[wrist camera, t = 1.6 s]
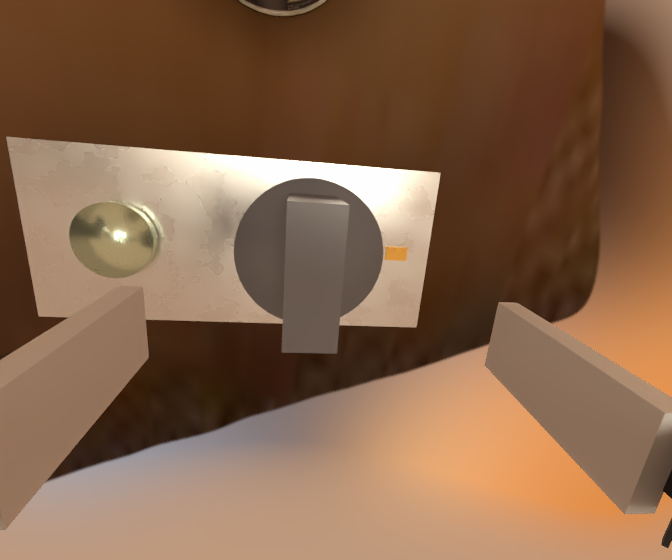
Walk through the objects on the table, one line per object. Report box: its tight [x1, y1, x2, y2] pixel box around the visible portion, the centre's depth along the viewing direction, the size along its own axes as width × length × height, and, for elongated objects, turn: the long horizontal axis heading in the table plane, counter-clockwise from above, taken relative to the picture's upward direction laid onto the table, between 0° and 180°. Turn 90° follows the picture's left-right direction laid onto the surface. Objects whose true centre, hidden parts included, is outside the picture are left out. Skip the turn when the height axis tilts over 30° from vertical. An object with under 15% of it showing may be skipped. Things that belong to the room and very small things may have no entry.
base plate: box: [6, 137, 440, 327], centre depth 26 cm, size 28×12×3 cm, turn 86°
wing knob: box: [234, 178, 383, 354], centre depth 22 cm, size 10×10×8 cm
